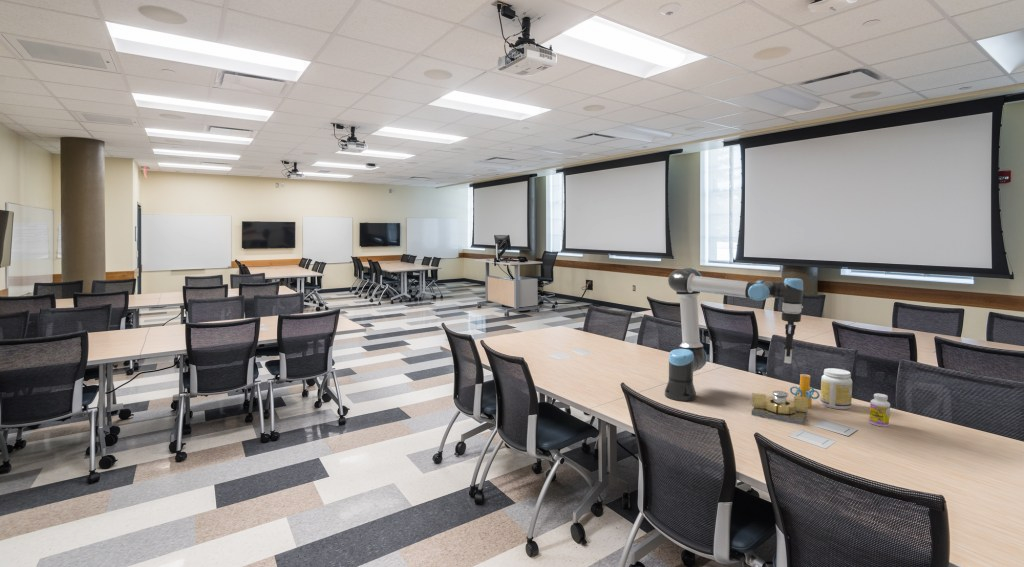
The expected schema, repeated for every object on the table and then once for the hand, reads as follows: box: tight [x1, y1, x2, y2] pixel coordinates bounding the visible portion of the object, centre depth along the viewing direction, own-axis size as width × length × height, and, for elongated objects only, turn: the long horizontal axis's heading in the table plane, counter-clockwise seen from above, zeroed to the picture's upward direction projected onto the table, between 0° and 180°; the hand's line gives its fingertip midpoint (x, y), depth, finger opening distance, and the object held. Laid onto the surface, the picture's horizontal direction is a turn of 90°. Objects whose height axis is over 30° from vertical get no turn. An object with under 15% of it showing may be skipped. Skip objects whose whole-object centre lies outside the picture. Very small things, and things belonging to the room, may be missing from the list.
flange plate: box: [750, 390, 808, 426], centre depth 212 cm, size 20×18×10 cm
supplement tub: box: [820, 367, 853, 410], centre depth 221 cm, size 12×12×17 cm
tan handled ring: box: [752, 392, 809, 414], centre depth 212 cm, size 22×12×6 cm, turn 74°
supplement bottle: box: [868, 392, 891, 428], centre depth 199 cm, size 7×7×13 cm
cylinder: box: [789, 373, 821, 409], centre depth 221 cm, size 12×10×15 cm
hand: (787, 362), depth 214 cm, fingers closed
